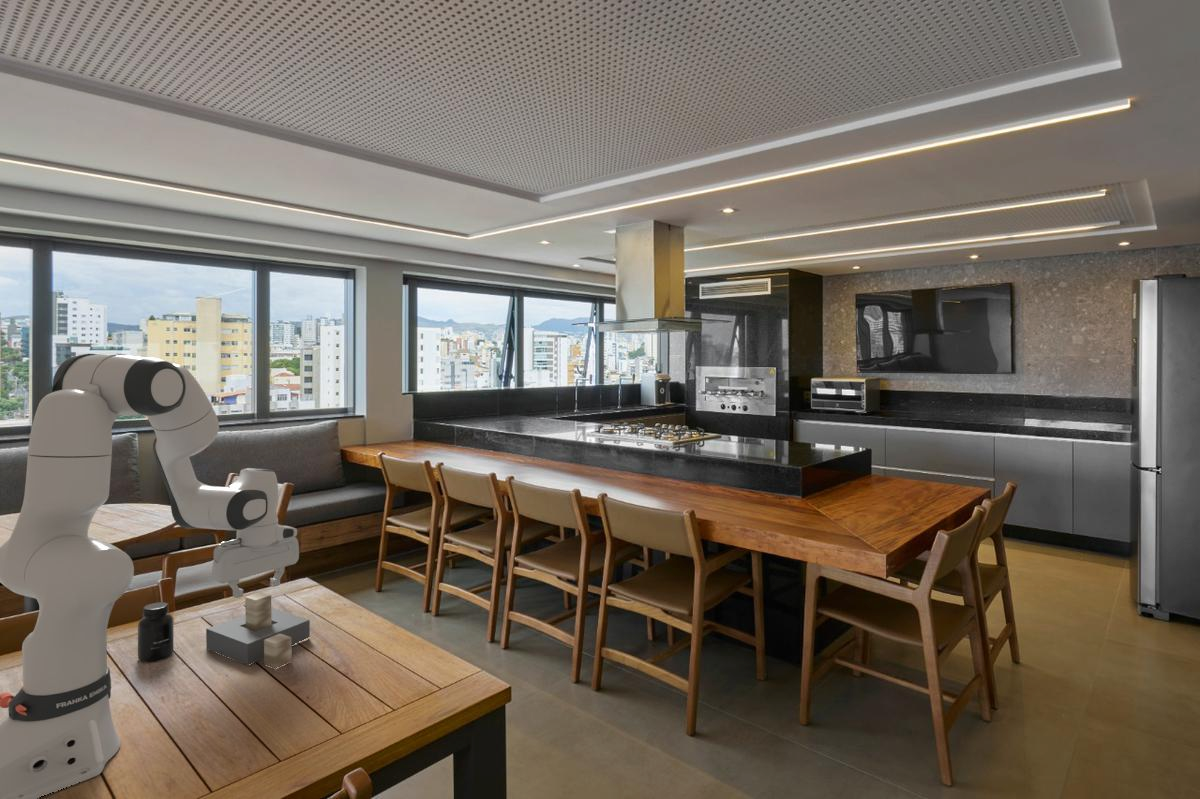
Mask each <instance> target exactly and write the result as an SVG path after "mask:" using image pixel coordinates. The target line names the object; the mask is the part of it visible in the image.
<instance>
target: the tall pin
mask: <svg viewBox="0 0 1200 799" xmlns="http://www.w3.org/2000/svg"><path fill="white" fill-rule="evenodd" d="M244 600H245V615H246V628H247V629H250V630H253V631H257V630H260V629H262V628H265V627H268V626H270V625H272V619H271V608H272V594H269V593H266V592H263V591H262V592H261V591H260V592H257V593H254V594H250V595H247V596H245V598H244Z"/></svg>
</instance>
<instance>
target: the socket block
mask: <svg viewBox="0 0 1200 799" xmlns="http://www.w3.org/2000/svg"><path fill="white" fill-rule="evenodd" d="M271 619H272V625H270V626H268V627H265V628H262V629H260V630H257V631H253V630H250V629H247V628H246V614H244V615H242V616H241V615H240V616H238V617H236V618H233V619H230V620H227V621H223V622H222V623H221V622H220V623H218V624H216V625H212V626H210V627H207V628H205V629H206V632H205V633H206V634H205V637H206V641H205V642H206V643H205V644H206V650H208V649H209V650H208V651H210V650H212V651H211V652H213V651H215V652H217V653H216V654H218V653H219V654H218V655H220V654H221V655H220V656H222V655H224V656H223V657H225V656H226V658H227V657H229V658H228V659H230V658H231V659H230V660H232V659H234V660H233V661H235V660H236V661H235V662H237V661H238V663H240V662H242V663H244V664H243V665H245V664H247V665H248V666H250V665H249V664H251V663H253V662H255V663H257V662H256V661H258V660H260V661H262V660H264V659H263V658H264V640H265V639H268V638H270V637H273V636H275V635H278V634H283V635H286V636H289V637H291V645H294V644H295V643H297V642H299V641H302V640H304V639H306V638H308V637H310V632H311V631H310V630H311V628H310V627H311V626H310V619H308V618H305V617H303V616H299V615H295V614H292V613H289V612H286V611H285V610H284V611H283V610H280V609H278V608H274V607H271ZM310 638H311V637H310ZM215 652H214V653H215ZM261 659H262V660H261ZM258 662H259V661H258ZM242 663H241V664H242ZM253 664H254V663H253ZM247 665H246V666H247ZM251 665H252V664H251Z"/></svg>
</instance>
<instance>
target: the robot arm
mask: <svg viewBox="0 0 1200 799" xmlns="http://www.w3.org/2000/svg"><path fill="white" fill-rule="evenodd" d="M50 388H51V389H50V390H51V391H50V393H48V394H46V395H45V396H43V397H42V398H41V400H40V401H39V403H38V406H37V408H36V411H35V414H34V417H33V422H32V425H31V429H30V434H29V435H30V436H29V440H28V447H27V448H28V449H27V461H26V472H25V473H26V474H25V486H24V495H23V501H22V506H21V508H20V512H19V515H18V518H17V520H16V522H15V525H14V528H13V530H12V533H11V534H10V536H9V538H8V540H7V541H5V542H4V543H3V544H2V545H1V546H0V583H1V584H2V585H3V586H4V587H6V589H8V590H9V591H11V592H13V593H15V594H18V595H20V596H24V597H28V598H31V599H32V598H33V599H35V600H36V601H37V603H38V606H39V611H38V615H37V619H36V623H35V626H34V628H33V631H31V632H30V633H29V634H28V635H27V636H26V637H25V639H24V640H23V641H22V646H21V656H22V657H21V658H22V659H21V660H22V664H21V665H22V686H21V688H20V689H19V691H18V692H17V693H16V694H15V696H14V695H12V694H11V693H10V692H2V693H0V708H1V709H7V710H8V715H7V716H6V717H5V718H3V720H2V721H0V799H37V798H38V799H40V798H39V797H41V796H43V795H46V796H48V795H47V794H49V793H51V794H53V793H52V792H54V793H56V792H59V791H61V789H62V790H64V789H66V787H67V788H70V787H72V786H74V785H77V784H79V782H80V783H81V782H85V781H87V780H90V779H93V778H94V777H97V776H99V775H100V774H102V773H103V771H104V769H105V765H106V764H107V763H108V762H109V760H111V758H113V756H115V755H116V754H117V753H118V751H119V750H120V747H121V740H120V738H119V736H118V733H117V731H116V728H115V725H114V721H113V716H112V712H111V704H110V699H111V693H112V679H111V671H110V668H109V667H108V661H107V660H108V659H107V658H108V656H107V655H108V654H107V653H108V651H107V649H108V648H107V646H108V644H107V643H108V641H107V640H108V639H107V636H108V635H107V634H108V633H107V632H108V624H109V621H110V620H109V619H110V616H111V613H112V610H113V608H114V605H115V602H116V601H117V600H119V598H121V597H122V596H123V595H124V594H125V593H126V592H127V591H128V589H129V588H130V585H131V583H132V581H133V579H134V574H135V568H134V562H133V560H132V558H131V557H130V555H129V554H127V553H126V551H123V550H122V549H121V548H118V547H117V546H116V545H113V544H112V543H110V542H108V541H104V540H100V539H94V538H89V537H88V535H89V534H88V533H89V529H90V525H91V523H92V520H93V517H94V516H95V514H96V512H97V511H98V509H99V508H100V507H102V506H103V505H104V504H105V503H106V502H107V501H108V499H109V496H110V487H111V485H110V484H111V470H112V469H111V468H112V456H113V455H112V454H113V430H112V427H113V426H114V423H115V421H116V420H117V418H118V417H119V416H141V415H142V416H145V417H147V420H148V421H149V423H150V426H151V427H152V429H153V431H154V434H155V438H154V440H153V444H152V450H153V451H152V452H153V455H154V459H155V461H156V465H157V467H158V470H159V473H160V476H161V479H162V480H163V483H164V485H165V488H166V491H167V494H168V497H169V503H170V511H171V515H172V518H173V520H174V521H175V522H176V524H177V525H178V526H179V527H181V528H183V529H187V530H193V529H194V530H195V529H196V530H197V529H198V530H200V529H201V530H202V529H204V530H205V529H207V530H218V531H219V530H220V531H221V530H222V531H223V530H225V531H236V538H235V539H231V540H228V541H222V542H219V544H218V545H216V547H215V548H214V549H213V561H212V569H211V579H212V580H213V581H214V582H216V583H219V584H228V586H229V587H230V588H231V590H232V596H233V598H234V599H239V598H241V597H244V589H243V588H241V587H239V586H238V584H240V580H241V579H245V578H248V577H252V576H256V575H259V574H263V573H267V572H270V571H275V572H274V574H273V578H270V580H269V582H270V583H269V585H270V586H271V587H273V588H275V587H278V586H280V585H281V579H282V577H283V575H284V573H285V568H286V567H289V566H291V565H295V564H296V563H297V562H298V561H299V559H300V548H299V547H300V546H299V541H298V539H297V537H296V536H297V535H298V529H297V528H296V527H293V526H289V525H284V524H279V517H278V515H277V513H278V512H277V509H278V505H279V485H278V484H279V482H278V478H277V475H276V473H275V471H274V470H272V469H267V468H251V467H246V468H242V469H241V470H240V471H239V476H238V478H237V479H236V480H235V481H234V482H233V483H231V484H230V485H228V486H217V485H208V484H206V483H203V482H201V481H199V480H198V479H197V476H196V473H195V471H194V468H193V465H192V462H191V459H190V457H193V456H196V455H197V454H200V453H201V452H202V451H204V450H205V449H207V448H208V447H209V446H210V445H211V444H212V443H213V442H214V441H215V439H216V438H217V436H218V434H219V429H220V425H219V423H220V422H219V419H218V416H217V414H216V410H214V408H213V406H212V404H211V401H210V399H209V398H208V396H207V394H206V393H205V391H204V389H203V388H202V387H201V385H200V383H199V382H198V381H197V379H196V378H195V377H194V375H193V374H192V372H190V371H189V369H187V368H186V367H185V366H182V365H181V364H178V363H171V362H170V361H167V360H164V359H161V358H158V357H151V356H150V357H148V356H147V357H143V356H136V355H130V354H129V355H128V354H124V353H99V354H97V353H84V354H83V353H82V354H80V355H75V356H72V357H69V358H66V359H65V360H64V361H63V362H62V363H60V365H59V366H58V368H57V370H56V371H55V373H54V377H53V379H52V386H51V387H50ZM71 785H72V786H71ZM63 788H64V789H63ZM58 790H59V791H58ZM49 795H50V794H49ZM41 798H42V797H41Z"/></svg>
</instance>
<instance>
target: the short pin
mask: <svg viewBox="0 0 1200 799" xmlns="http://www.w3.org/2000/svg"><path fill="white" fill-rule="evenodd" d="M292 648H293V647H292V645H291V637H289V636H286V635H283V634H278V635H275V636H273V637H270V638H268V639H265V640H264V659H263V661H264V665H267V666H270V667H272V668H275V669H276V668H277V667H280V666H282V665H284V664H287V663H289V662H291V661H292V662H293V659H292V658H293V657H292V656H293V655H292V654H293V653H292V650H293V649H292ZM267 666H266V667H267ZM272 668H271V669H272Z"/></svg>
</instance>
